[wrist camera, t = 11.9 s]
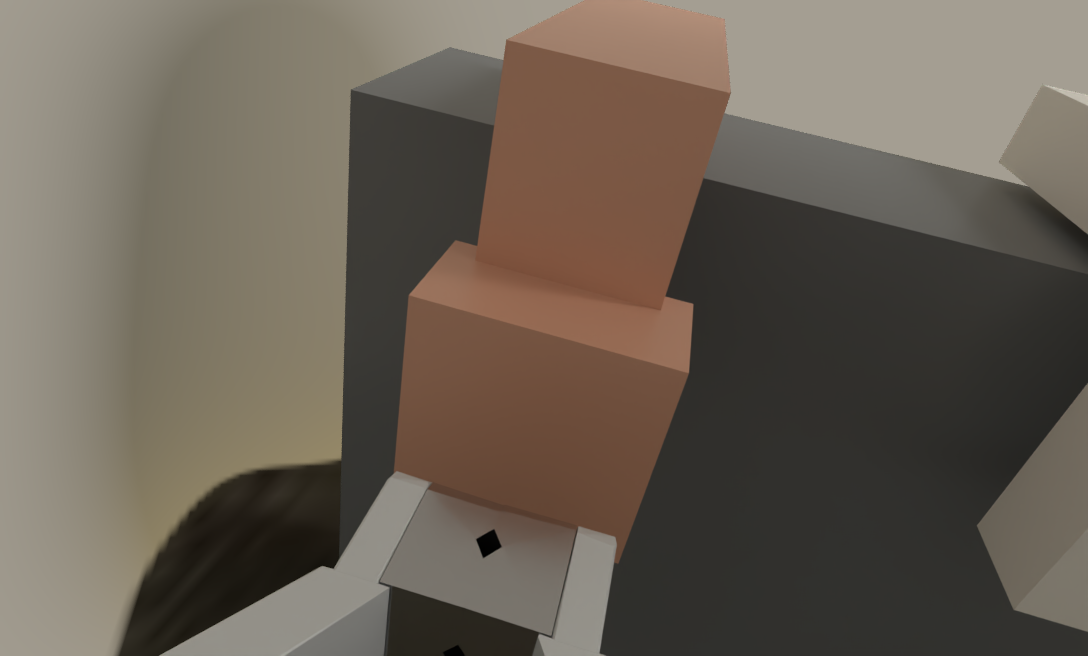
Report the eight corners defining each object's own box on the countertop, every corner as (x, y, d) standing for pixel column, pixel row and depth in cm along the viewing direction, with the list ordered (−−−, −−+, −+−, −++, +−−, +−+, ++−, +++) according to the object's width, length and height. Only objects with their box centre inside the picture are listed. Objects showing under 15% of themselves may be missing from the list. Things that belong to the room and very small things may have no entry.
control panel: (917, 685, 29) (1302, 243, 17) (979, 916, 22) (1670, 439, 11) (388, 520, 31) (428, 34, 20) (297, 684, 24) (278, 87, 13)
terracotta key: (661, 288, 20) (745, 23, 16) (618, 563, 11) (777, 131, 7) (531, 253, 20) (582, -14, 16) (391, 494, 12) (429, 47, 8)
